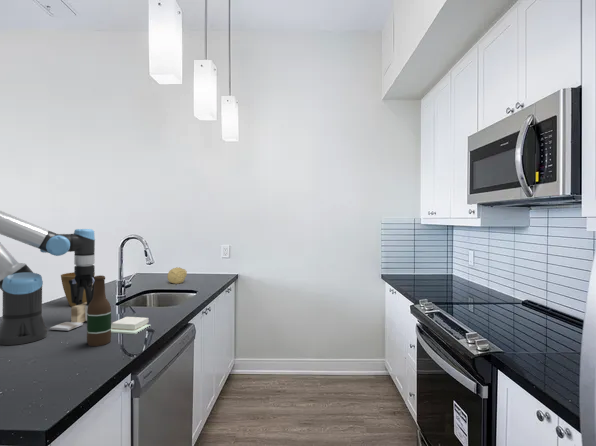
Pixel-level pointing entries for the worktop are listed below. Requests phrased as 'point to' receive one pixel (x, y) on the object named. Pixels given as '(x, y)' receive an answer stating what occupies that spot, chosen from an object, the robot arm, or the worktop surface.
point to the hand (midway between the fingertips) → (84, 319)
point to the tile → (129, 323)
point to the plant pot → (67, 289)
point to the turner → (73, 318)
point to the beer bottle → (99, 315)
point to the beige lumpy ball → (177, 275)
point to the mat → (129, 330)
